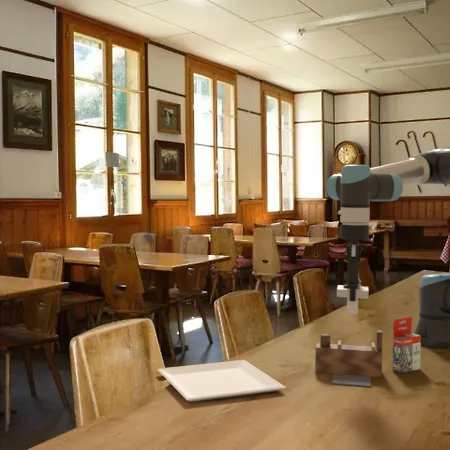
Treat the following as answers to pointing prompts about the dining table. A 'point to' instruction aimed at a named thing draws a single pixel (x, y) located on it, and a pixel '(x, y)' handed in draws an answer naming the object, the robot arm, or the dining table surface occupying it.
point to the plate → (219, 380)
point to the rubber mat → (351, 380)
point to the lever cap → (361, 291)
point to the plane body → (349, 357)
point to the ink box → (405, 347)
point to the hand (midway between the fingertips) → (352, 310)
